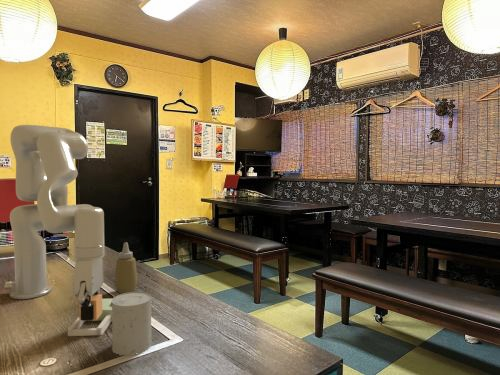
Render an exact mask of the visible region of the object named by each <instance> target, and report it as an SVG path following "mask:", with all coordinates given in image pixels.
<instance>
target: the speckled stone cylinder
mask: <svg viewBox="0 0 500 375" xmlns="http://www.w3.org/2000/svg"><path fill="white" fill-rule="evenodd" d="M111 299H112V321H111V324H112V325H111V328H112V329H111V332H112V337H111V338H112V339H111V340H112V344H111V345H112V347H111V350H112V352H113V353H114V354H115V353H116V354H115V355H117V354H119V355H118V356H122V355H131V356H133V355H132V354H136V353H139V354H141V352H142V353H144V352H146V351H148V350H149V349H150V348H151V346H152V343H153V342H152V294H150V293H148V292H145V291H144V292H143V291H134V292H128V293H123V294H120V293H119V294H117V295H116V296H114V297H113V298H111ZM145 350H146V351H145ZM143 351H144V352H143ZM136 355H137V354H136Z"/></svg>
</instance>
